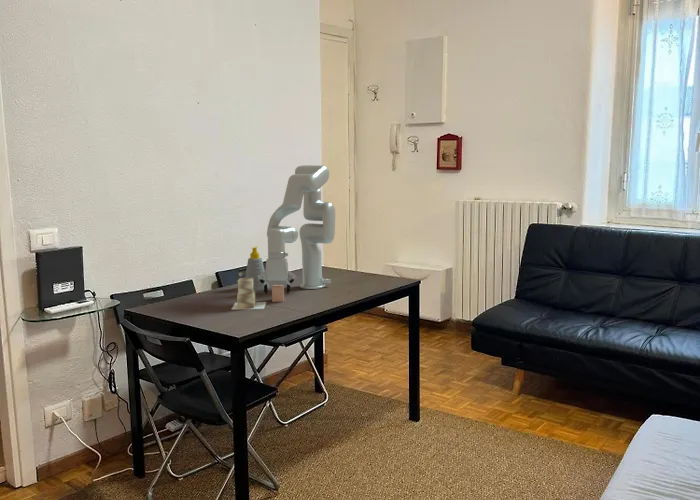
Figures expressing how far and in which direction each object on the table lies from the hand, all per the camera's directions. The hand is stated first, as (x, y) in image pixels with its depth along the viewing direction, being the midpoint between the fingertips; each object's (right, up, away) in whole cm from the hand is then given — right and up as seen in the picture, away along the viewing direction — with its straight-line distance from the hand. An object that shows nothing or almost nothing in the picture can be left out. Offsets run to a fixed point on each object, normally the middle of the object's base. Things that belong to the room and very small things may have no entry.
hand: (277, 293), depth 289 cm
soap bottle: (-14, 0, +29) cm, 32 cm away
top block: (0, -4, +1) cm, 4 cm away
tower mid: (-12, +1, -10) cm, 16 cm away
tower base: (-12, -5, -9) cm, 16 cm away
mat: (-11, -5, -8) cm, 15 cm away
